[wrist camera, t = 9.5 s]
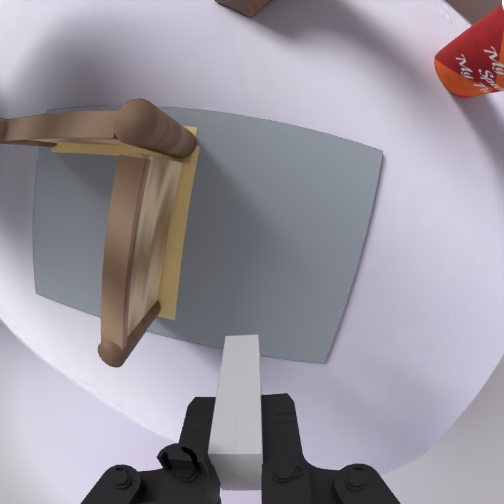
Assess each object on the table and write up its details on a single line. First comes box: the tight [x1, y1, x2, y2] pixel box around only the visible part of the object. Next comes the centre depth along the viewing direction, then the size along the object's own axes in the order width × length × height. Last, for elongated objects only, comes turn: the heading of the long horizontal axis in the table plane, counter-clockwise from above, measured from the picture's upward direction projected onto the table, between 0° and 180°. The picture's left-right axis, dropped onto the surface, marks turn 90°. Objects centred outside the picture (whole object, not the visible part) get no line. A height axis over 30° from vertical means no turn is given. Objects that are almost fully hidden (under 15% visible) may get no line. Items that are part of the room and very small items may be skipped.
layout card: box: [33, 106, 383, 364], centre depth 22 cm, size 32×20×1 cm, turn 79°
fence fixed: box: [0, 99, 197, 159], centre depth 16 cm, size 16×2×9 cm, turn 79°
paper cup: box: [435, 0, 504, 98], centre depth 11 cm, size 8×8×14 cm
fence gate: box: [98, 152, 183, 367], centre depth 18 cm, size 14×2×8 cm, turn 165°
